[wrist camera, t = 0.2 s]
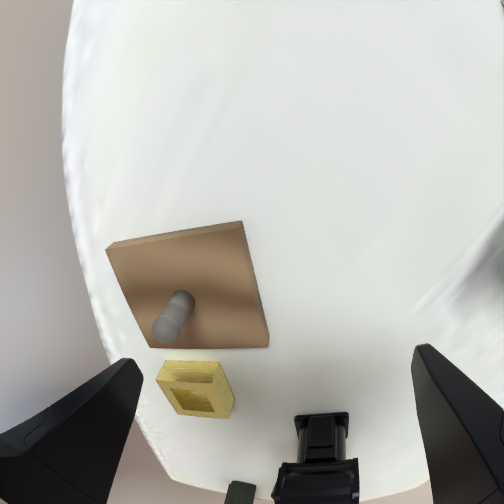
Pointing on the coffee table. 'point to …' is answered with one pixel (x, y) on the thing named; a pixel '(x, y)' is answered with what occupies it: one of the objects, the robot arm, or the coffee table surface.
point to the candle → (240, 493)
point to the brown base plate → (192, 288)
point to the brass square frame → (196, 388)
